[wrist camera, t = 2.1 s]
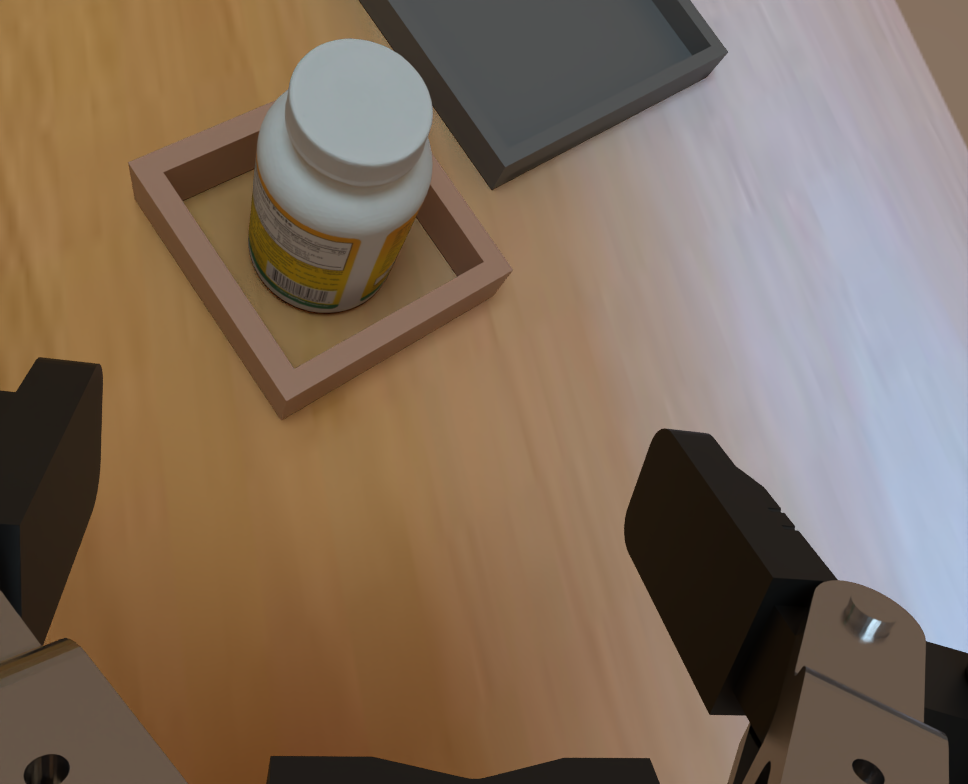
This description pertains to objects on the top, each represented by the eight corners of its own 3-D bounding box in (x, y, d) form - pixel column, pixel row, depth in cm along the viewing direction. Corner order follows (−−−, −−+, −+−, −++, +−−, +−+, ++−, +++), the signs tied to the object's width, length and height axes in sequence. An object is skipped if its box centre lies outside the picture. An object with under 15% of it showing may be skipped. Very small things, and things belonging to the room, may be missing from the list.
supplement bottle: (273, 332, 31) (296, 206, 22) (229, 200, 32) (233, 28, 23) (412, 297, 33) (483, 168, 24) (366, 173, 34) (418, 5, 25)
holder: (134, 198, 31) (128, 162, 29) (358, 100, 35) (368, 61, 32) (281, 420, 30) (286, 400, 28) (493, 295, 34) (513, 269, 32)
